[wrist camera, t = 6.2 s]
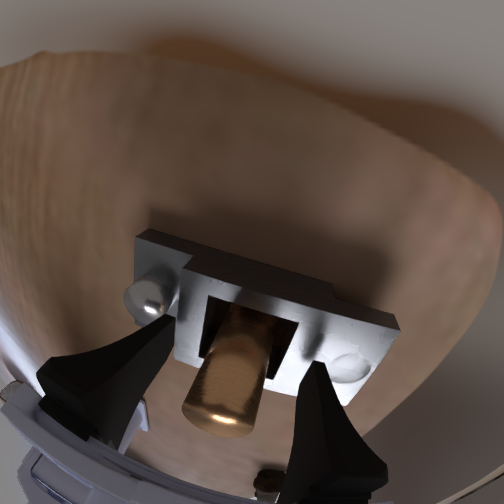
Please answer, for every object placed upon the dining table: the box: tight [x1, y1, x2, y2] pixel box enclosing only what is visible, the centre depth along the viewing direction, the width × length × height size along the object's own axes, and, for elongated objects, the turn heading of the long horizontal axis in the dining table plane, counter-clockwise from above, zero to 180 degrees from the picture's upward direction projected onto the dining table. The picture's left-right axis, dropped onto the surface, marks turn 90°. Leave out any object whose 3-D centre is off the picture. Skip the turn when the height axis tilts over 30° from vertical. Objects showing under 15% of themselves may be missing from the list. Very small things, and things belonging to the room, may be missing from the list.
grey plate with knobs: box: [124, 229, 400, 406], centre depth 15 cm, size 15×7×3 cm, turn 77°
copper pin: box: [182, 303, 278, 437], centre depth 13 cm, size 3×3×8 cm
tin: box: [0, 380, 23, 404], centre depth 35 cm, size 15×3×8 cm, turn 107°
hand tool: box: [253, 470, 286, 503], centre depth 28 cm, size 19×4×5 cm, turn 177°
